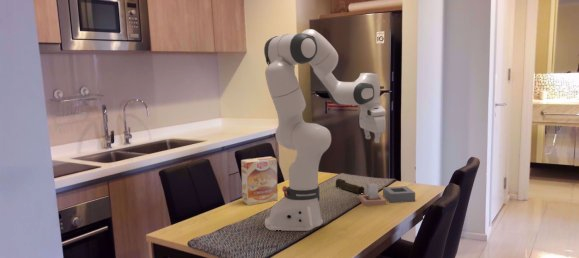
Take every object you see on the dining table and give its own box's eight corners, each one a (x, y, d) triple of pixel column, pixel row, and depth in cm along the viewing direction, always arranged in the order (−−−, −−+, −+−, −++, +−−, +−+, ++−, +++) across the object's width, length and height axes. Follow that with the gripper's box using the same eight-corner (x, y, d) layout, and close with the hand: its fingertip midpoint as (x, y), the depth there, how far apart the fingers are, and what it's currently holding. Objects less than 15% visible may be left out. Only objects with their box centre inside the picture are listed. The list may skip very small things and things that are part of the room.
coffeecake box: (248, 205, 193) (246, 162, 191) (242, 201, 199) (240, 159, 197) (278, 200, 200) (277, 158, 198) (271, 196, 206) (270, 155, 204)
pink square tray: (364, 205, 188) (364, 201, 188) (359, 199, 198) (359, 195, 197) (386, 204, 189) (386, 200, 189) (379, 198, 198) (379, 194, 198)
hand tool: (364, 194, 207) (364, 184, 206) (358, 195, 205) (358, 186, 204) (340, 186, 223) (340, 177, 222) (334, 187, 221) (333, 178, 220)
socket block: (390, 202, 192) (390, 193, 191) (382, 195, 202) (382, 187, 202) (415, 201, 193) (415, 192, 192) (406, 194, 203) (406, 186, 203)
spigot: (369, 203, 191) (369, 185, 190) (366, 201, 195) (366, 183, 194) (378, 203, 192) (378, 185, 190) (375, 200, 195) (375, 183, 194)
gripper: (355, 107, 199) (356, 137, 201) (373, 113, 179) (375, 146, 181) (368, 106, 200) (369, 135, 202) (387, 111, 180) (389, 144, 183)
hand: (372, 140), depth 192 cm, fingers open, 8 cm apart
